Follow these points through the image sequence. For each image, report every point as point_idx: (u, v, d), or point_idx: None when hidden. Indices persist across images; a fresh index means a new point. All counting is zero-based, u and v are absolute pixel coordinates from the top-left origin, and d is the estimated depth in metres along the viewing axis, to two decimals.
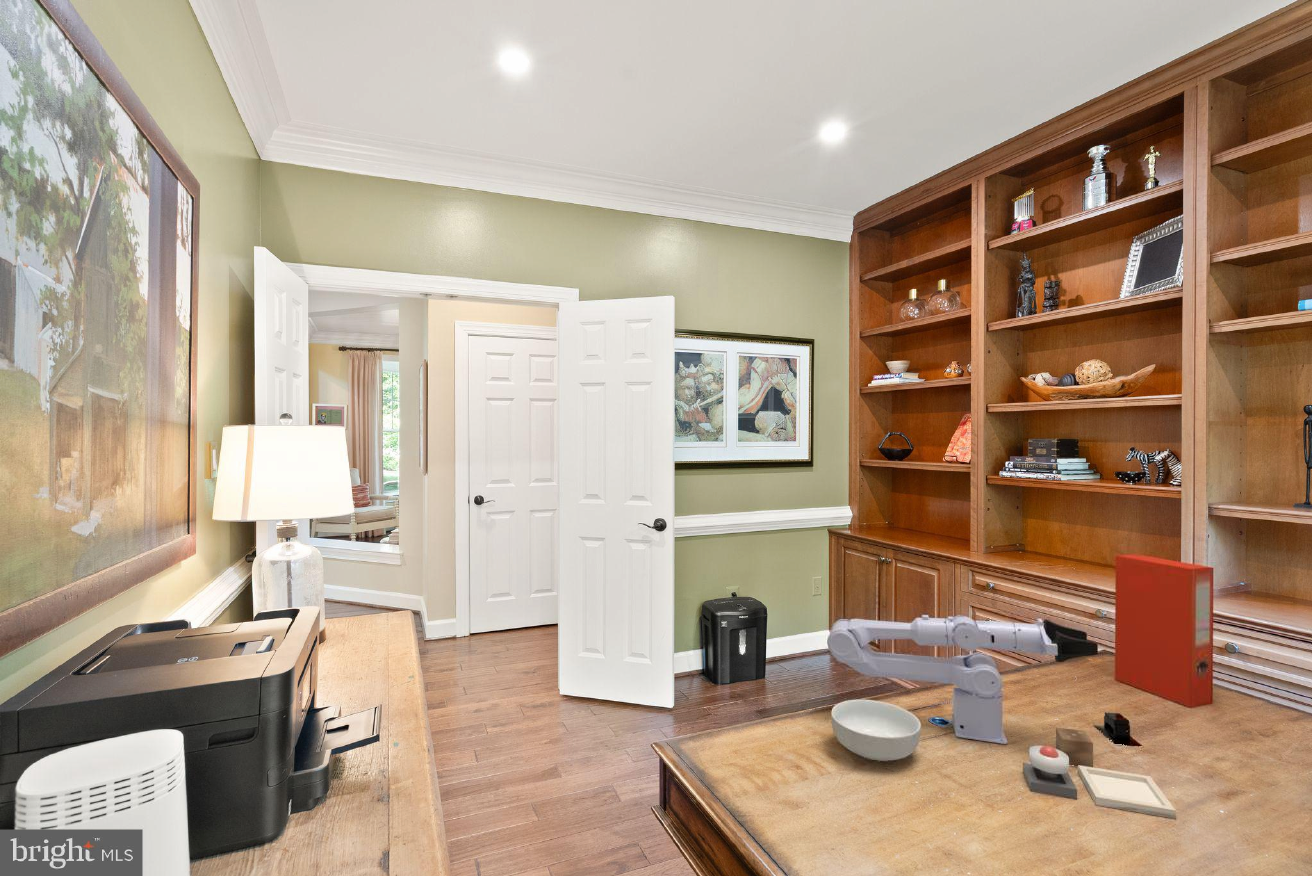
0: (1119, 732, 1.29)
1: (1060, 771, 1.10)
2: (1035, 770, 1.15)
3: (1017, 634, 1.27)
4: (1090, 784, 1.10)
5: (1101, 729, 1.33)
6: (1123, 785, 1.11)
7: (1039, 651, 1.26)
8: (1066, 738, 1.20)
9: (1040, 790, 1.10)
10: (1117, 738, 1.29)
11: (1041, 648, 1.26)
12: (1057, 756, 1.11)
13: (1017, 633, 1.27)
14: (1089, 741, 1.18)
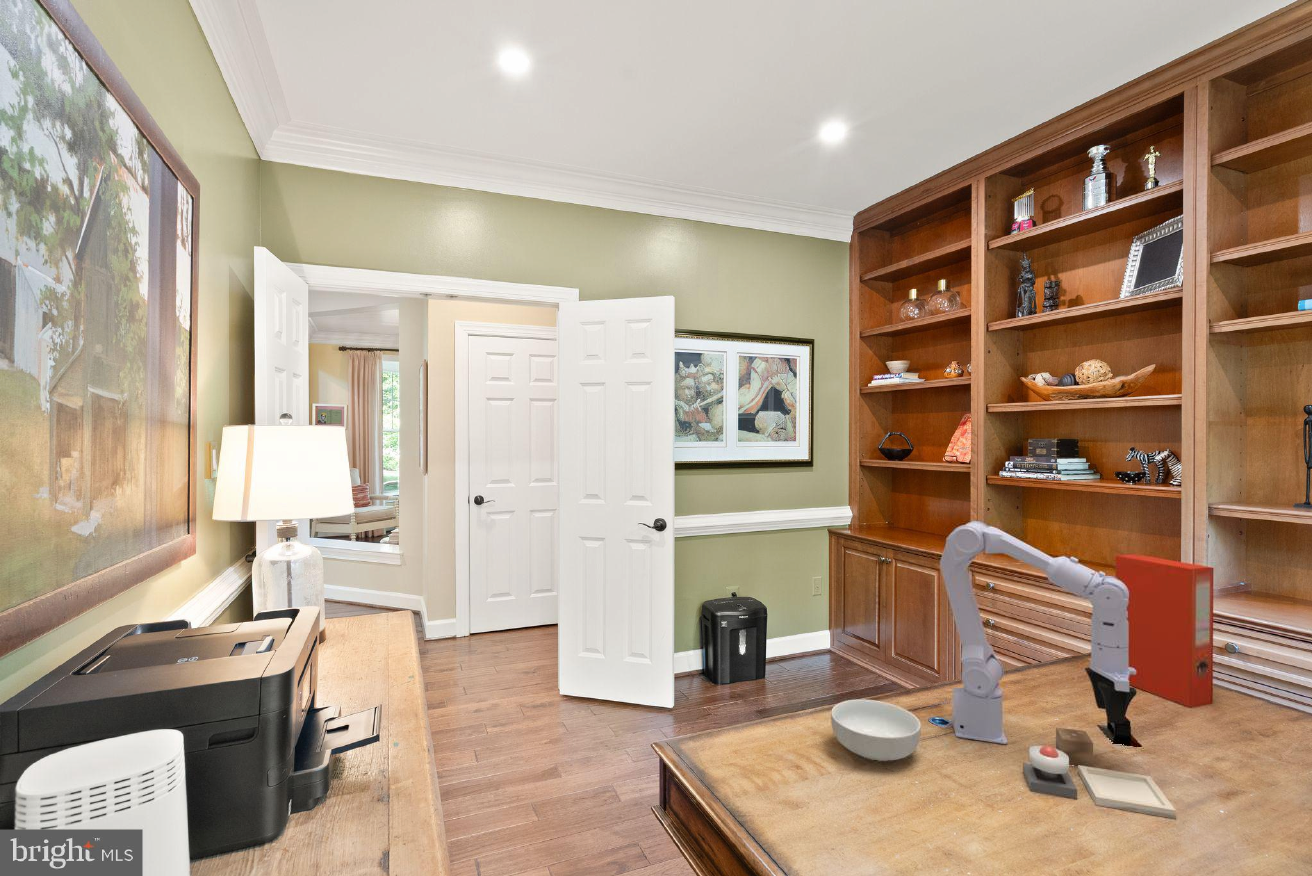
0: (1119, 732, 1.29)
1: (1060, 771, 1.10)
2: (1035, 770, 1.15)
3: (1121, 649, 1.15)
4: (1090, 784, 1.10)
5: (1104, 729, 1.33)
6: (1123, 785, 1.11)
7: (1100, 667, 1.17)
8: (1066, 738, 1.20)
9: (1040, 790, 1.10)
10: (1117, 738, 1.29)
11: (1106, 670, 1.16)
12: (1057, 756, 1.11)
13: (1122, 649, 1.15)
14: (1089, 741, 1.18)
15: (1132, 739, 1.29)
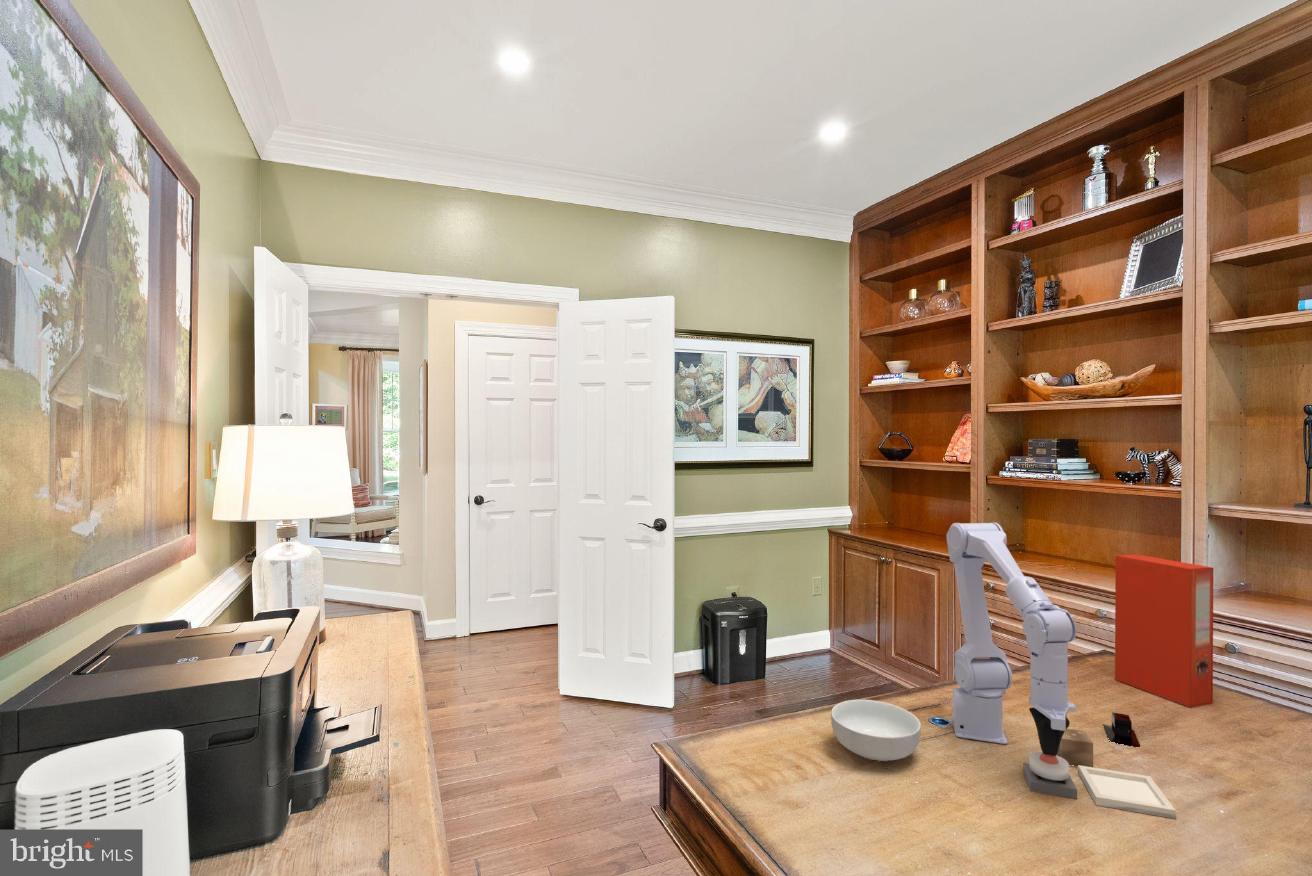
0: (1120, 732, 1.29)
1: (1060, 778, 1.10)
2: None
3: (1060, 684, 1.10)
4: (1090, 784, 1.10)
5: (1108, 729, 1.33)
6: (1123, 785, 1.11)
7: (1038, 703, 1.11)
8: (1066, 738, 1.20)
9: (1040, 790, 1.10)
10: (1117, 737, 1.29)
11: (1044, 706, 1.10)
12: (1057, 762, 1.11)
13: (1061, 685, 1.10)
14: (1089, 741, 1.18)
15: (1133, 740, 1.28)
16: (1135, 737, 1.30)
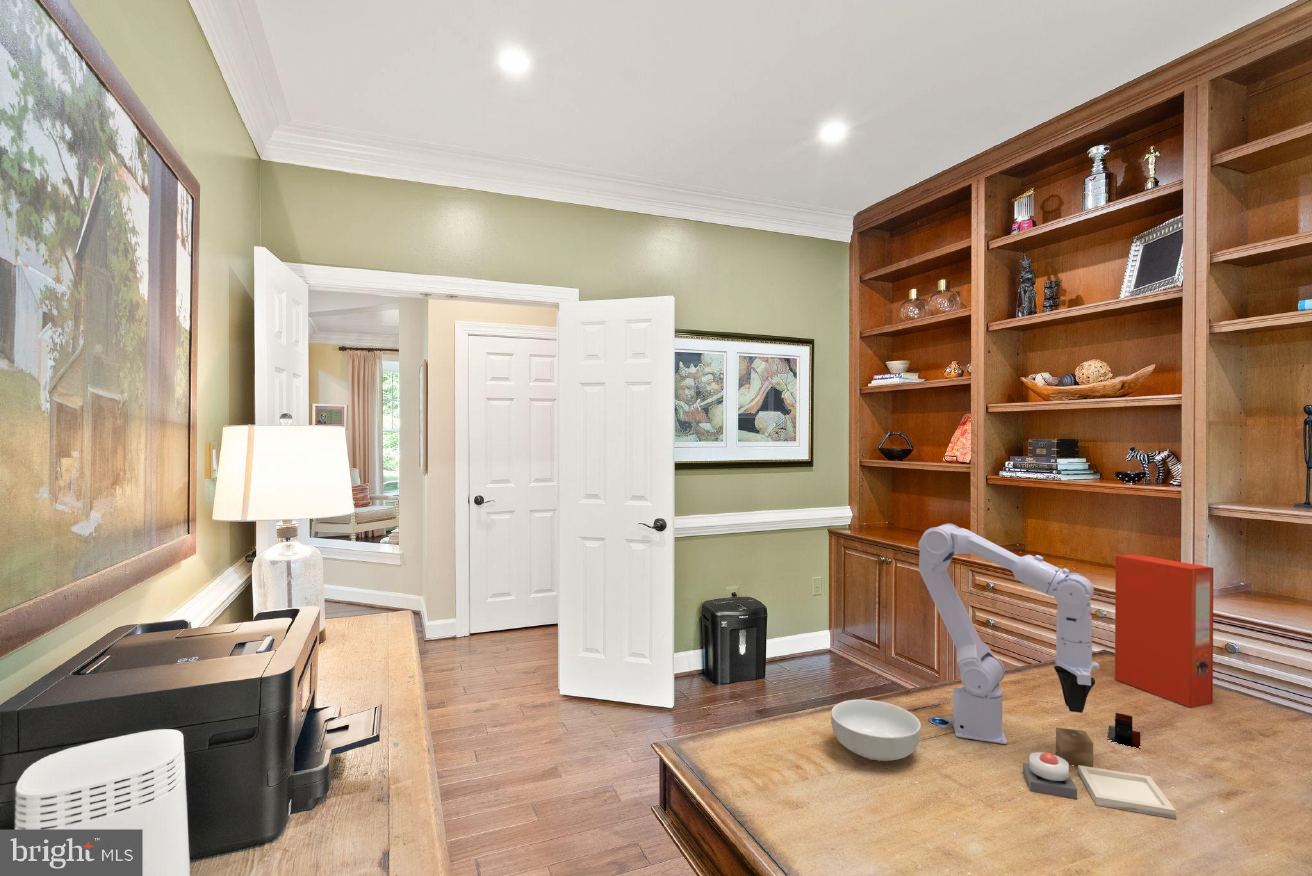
0: (1120, 731, 1.29)
1: (1060, 778, 1.10)
2: None
3: (1085, 644, 1.18)
4: (1090, 784, 1.10)
5: (1112, 729, 1.33)
6: (1123, 785, 1.11)
7: (1064, 662, 1.20)
8: (1067, 738, 1.20)
9: (1040, 790, 1.10)
10: (1117, 737, 1.29)
11: (1070, 665, 1.19)
12: (1057, 763, 1.11)
13: (1085, 644, 1.18)
14: (1089, 741, 1.18)
15: (1134, 740, 1.28)
16: (1138, 738, 1.29)
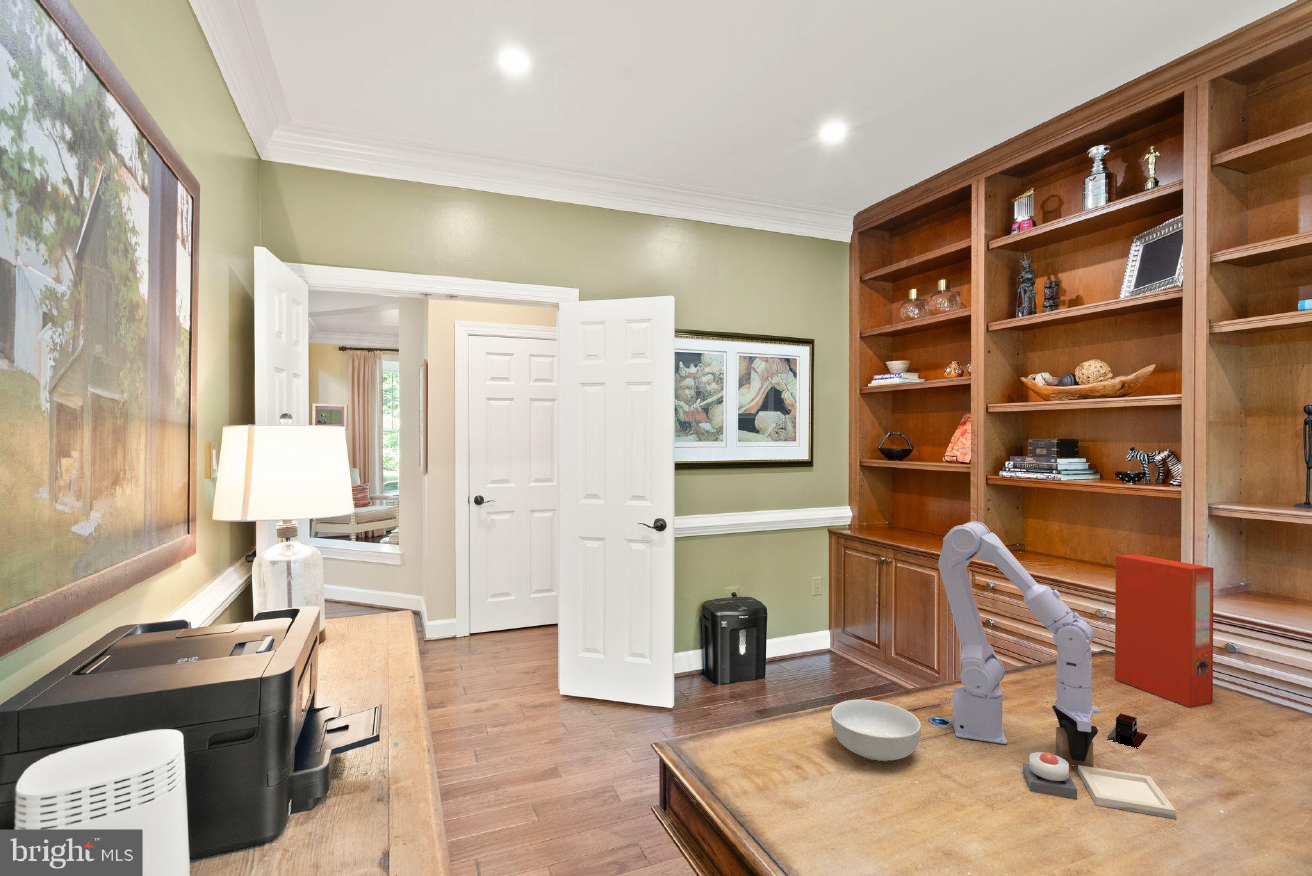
0: (1120, 731, 1.29)
1: (1060, 778, 1.10)
2: None
3: (1085, 689, 1.18)
4: (1090, 784, 1.10)
5: None
6: (1123, 785, 1.11)
7: (1064, 706, 1.20)
8: (1066, 737, 1.20)
9: (1040, 790, 1.10)
10: (1117, 737, 1.30)
11: (1070, 709, 1.19)
12: (1057, 763, 1.11)
13: (1086, 689, 1.18)
14: None
15: (1135, 741, 1.28)
16: (1141, 740, 1.29)
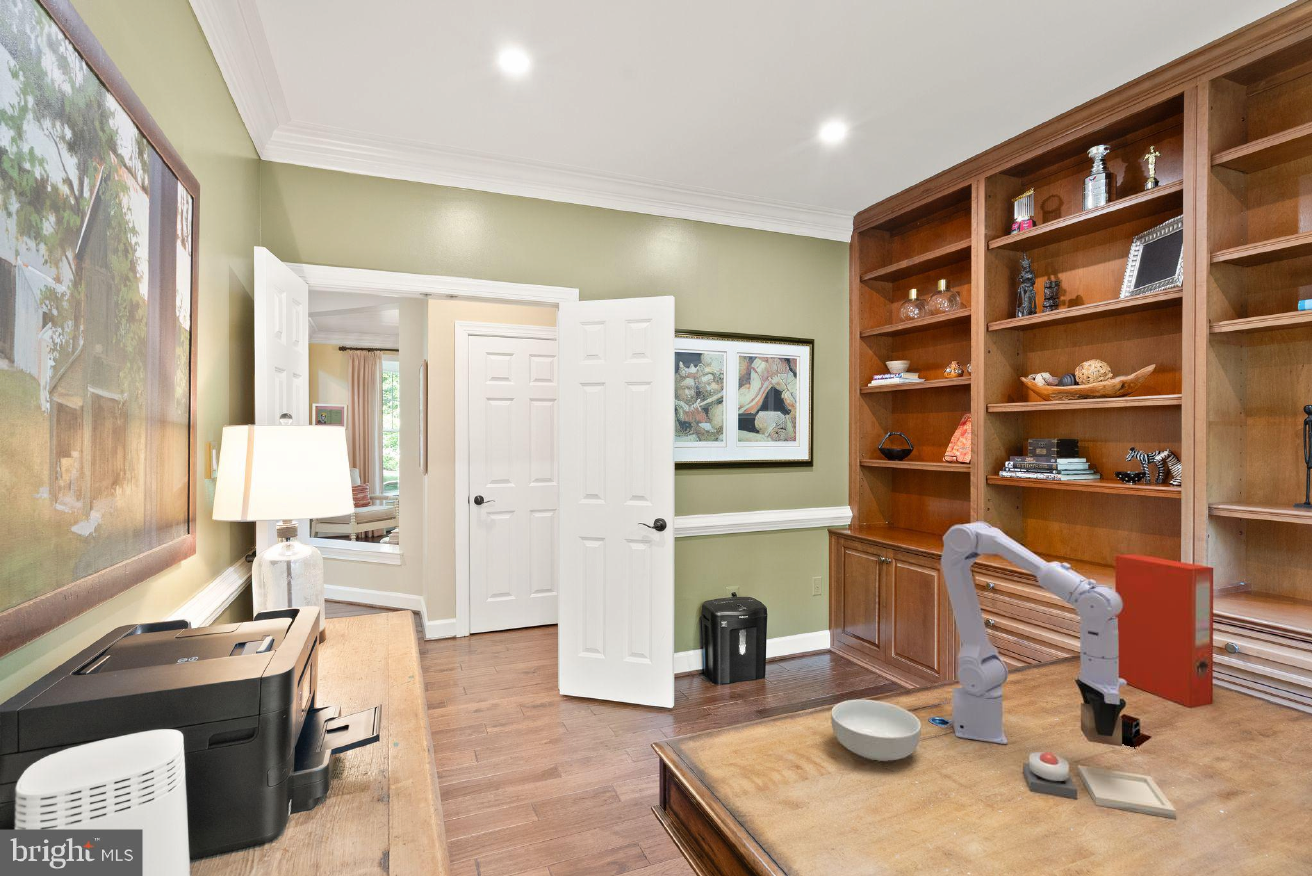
0: None
1: (1060, 778, 1.10)
2: None
3: (1111, 660, 1.12)
4: (1090, 784, 1.10)
5: None
6: (1123, 785, 1.11)
7: (1089, 678, 1.14)
8: None
9: (1040, 790, 1.10)
10: None
11: (1096, 682, 1.13)
12: (1057, 763, 1.11)
13: (1112, 660, 1.12)
14: None
15: (1135, 742, 1.28)
16: (1142, 741, 1.28)
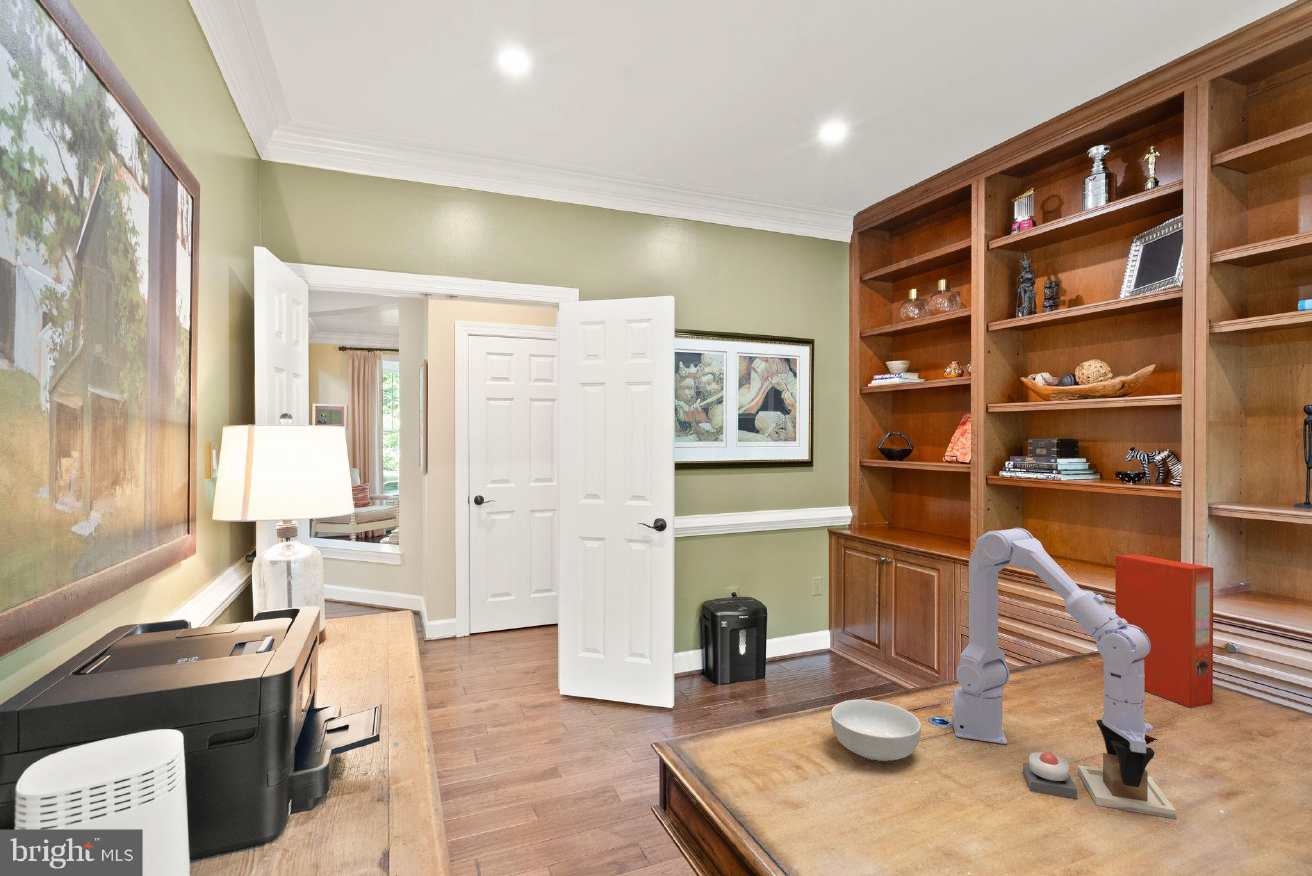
0: None
1: (1060, 778, 1.10)
2: None
3: (1137, 705, 1.07)
4: (1090, 784, 1.10)
5: None
6: None
7: (1113, 723, 1.08)
8: (1117, 766, 1.08)
9: (1040, 790, 1.10)
10: None
11: (1120, 727, 1.07)
12: (1057, 763, 1.11)
13: (1138, 705, 1.07)
14: None
15: None
16: None
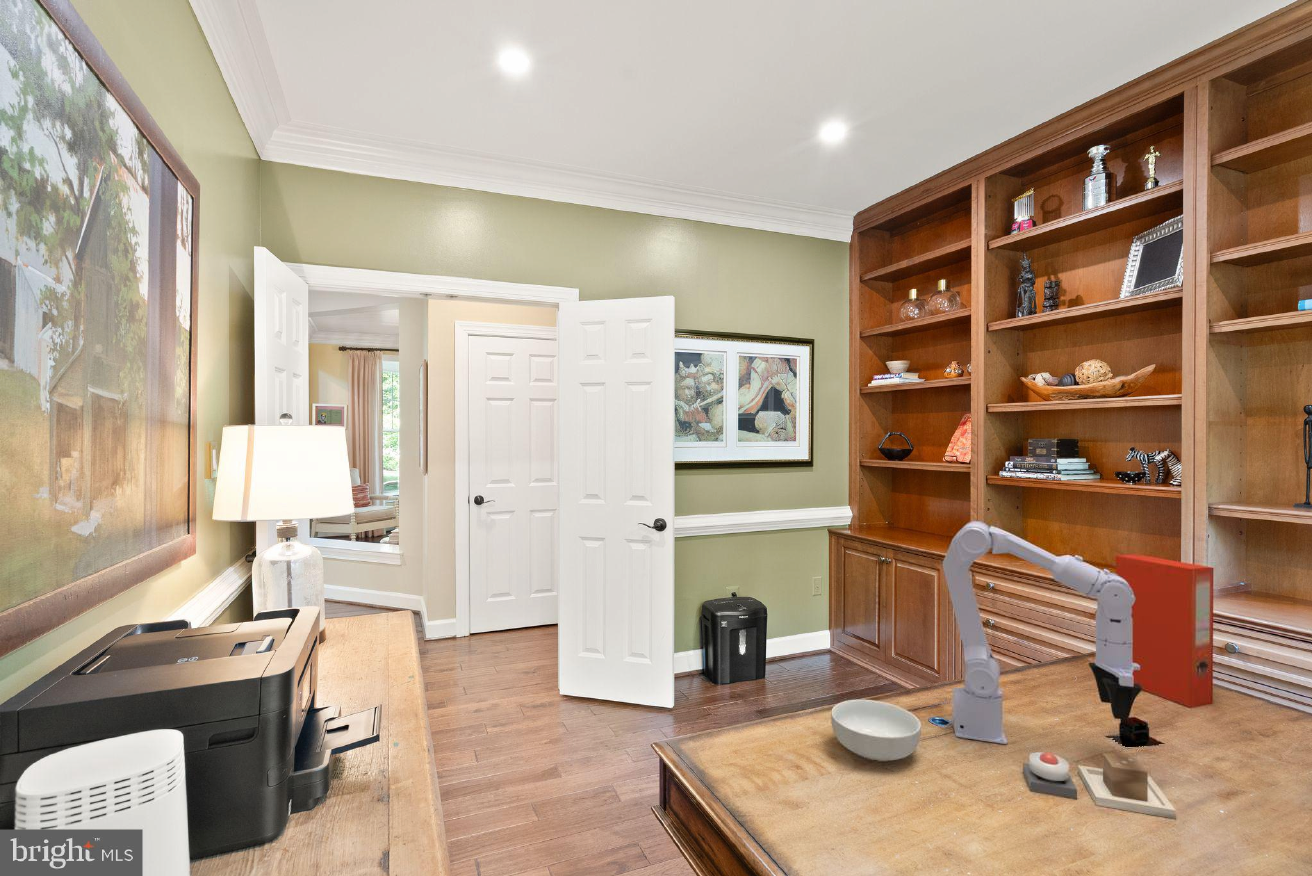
0: (1123, 732, 1.29)
1: (1060, 778, 1.10)
2: None
3: (1125, 645, 1.18)
4: (1090, 784, 1.10)
5: None
6: None
7: (1104, 663, 1.19)
8: (1117, 766, 1.08)
9: (1040, 790, 1.10)
10: (1120, 736, 1.30)
11: (1110, 666, 1.18)
12: (1057, 763, 1.11)
13: (1126, 645, 1.18)
14: (1143, 770, 1.07)
15: (1135, 743, 1.27)
16: (1146, 744, 1.27)
